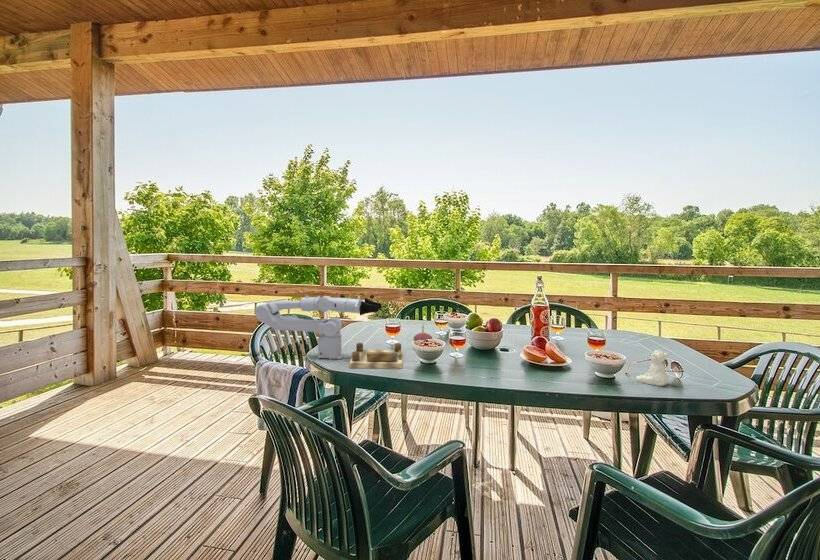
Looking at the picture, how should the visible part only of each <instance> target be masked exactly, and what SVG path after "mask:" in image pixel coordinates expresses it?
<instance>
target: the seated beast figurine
mask: <svg viewBox="0 0 820 560" xmlns="http://www.w3.org/2000/svg"><path fill="white" fill-rule="evenodd" d="M653 351H654V352H653V353H652V354H651V356H650V358H649V359H650V360H651V364H650V365H649V367H648V368H649V370H648V373H647V374H644V375H643V374H640V375H636V378H635V379H636V382H637V383H641V384H647V385H651V386H656V387H664V386H666V385H667V384H668V383H669V376H668V373H667V371H666V366H665V364H664V362H665V360H666V357H668V356H669V353H668V352H664V351H662V350H661V349H655V350H653Z"/></svg>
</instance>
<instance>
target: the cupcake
mask: <svg viewBox="0 0 820 560" xmlns="http://www.w3.org/2000/svg"><path fill="white" fill-rule="evenodd" d="M424 327H425V326H424V324H422V325H421V328H422V329H421V332H419V333H417V334H415V335H414V336H413V339H412V340H413V341H414V342H415V341H417V340H426V339H432V340H433V336H432V335H431V334H428V333H425V332H424V329H425V328H424Z"/></svg>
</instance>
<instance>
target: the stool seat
mask: <svg viewBox="0 0 820 560" xmlns="http://www.w3.org/2000/svg"><path fill="white" fill-rule="evenodd" d="M355 345H356V347H355V348H356V349H355V350H354V351H353V352H351V358H350V361H349V365H348V366H349V367H348V368H349V369H397V370H398V369H400V368H402V369H403V357H404V356H403V353H404V352H403V349H402V343H399V342H398V343H396V342H395V343H394V348H393V349H364V343H363V342H356V344H355ZM367 352H397V353H398V360H397V361H367Z"/></svg>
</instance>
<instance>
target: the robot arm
mask: <svg viewBox="0 0 820 560" xmlns="http://www.w3.org/2000/svg"><path fill="white" fill-rule="evenodd" d="M292 309H294V310H295V309H300V310H301V311H302V312H317V311H320V312H322V313H327V312H328V311H333V312H334V311H335V312H339V313H341V312H342V313H351V314H359V316H364V315H365V314H371V313H379V311H380V310H382V303H380V302H377V301H373V300H370V299H369V298H368V297H365V298H364V300H362V299H361V296H360V295H359V296H357V298H349V297H331V296H329V295H323V296H322V297H321V295H317V296H309V295H304V297H302V298H301V299H300V300H273V301H266V303H263V304H259V305H257V306H256V308H255V310H254V314H255V317H256V319H257V320H258V321H259V322H260V323H263V324H265V325H267V326H268V327H270V328H272V329H274V330H276V331H292V332H294V331H295V332H309V333H317V334H319V336H318V339H317V359H319V358H329V359H328V360H336V359H337V360H340V359H342V357H343V356H344V352H342V332H341V330H342V329H343V322H342V321H341V319H340V318H338V317H332V318H327V319H307V318H306V319H303V318H290V317H289V318H288V317H287V318H286V317H283V316H282V314H281V313H280V311H282V310H292Z"/></svg>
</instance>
